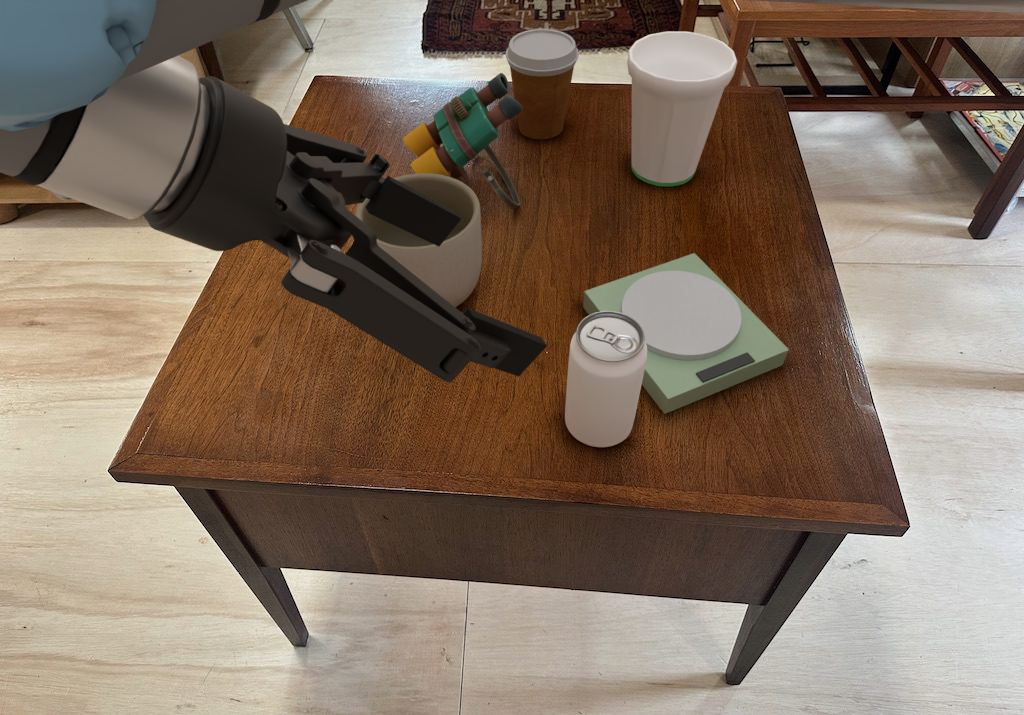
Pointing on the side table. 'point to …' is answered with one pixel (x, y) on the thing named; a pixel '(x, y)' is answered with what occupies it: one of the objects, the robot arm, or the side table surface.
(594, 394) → the can
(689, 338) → the scale
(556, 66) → the disposable coffee cup
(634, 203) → the side table surface
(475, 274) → the planter
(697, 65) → the cup
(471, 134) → the binoculars
